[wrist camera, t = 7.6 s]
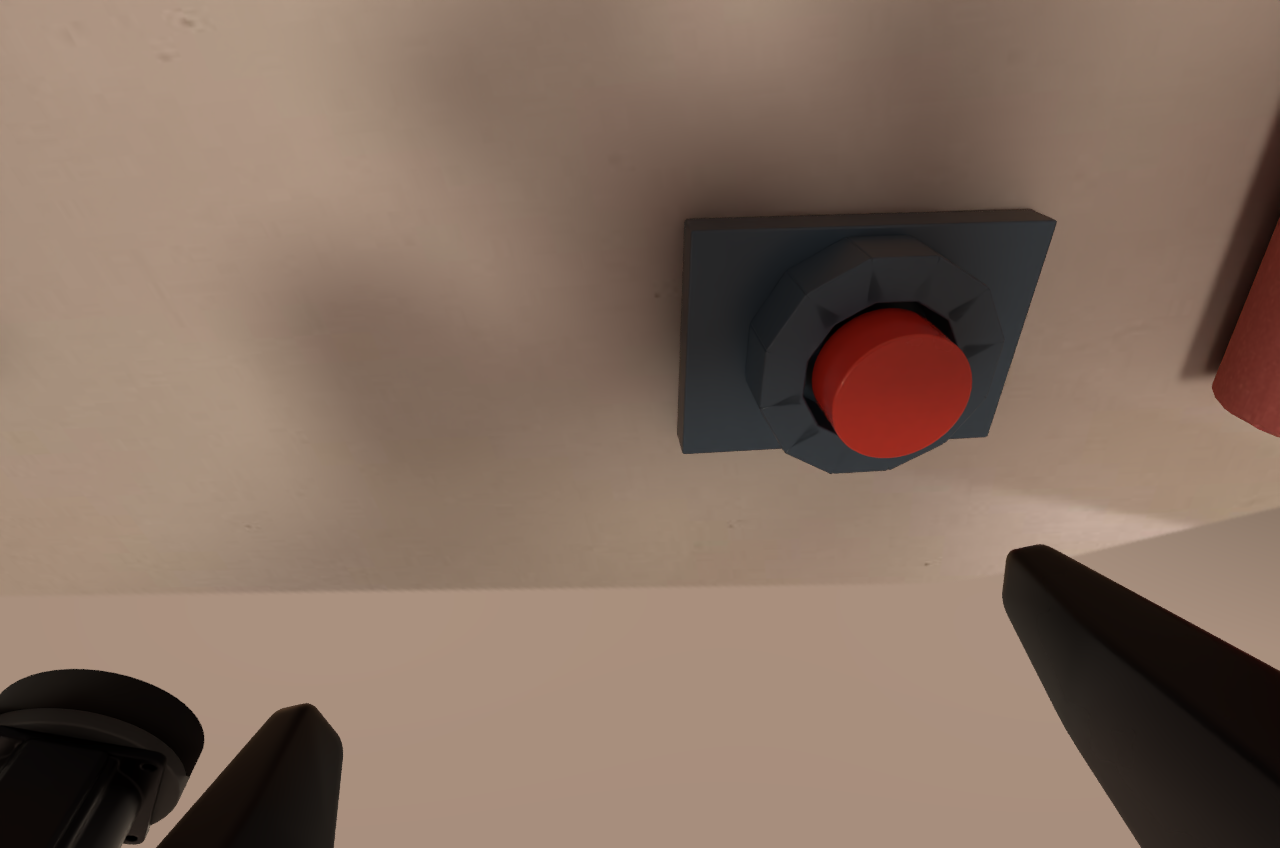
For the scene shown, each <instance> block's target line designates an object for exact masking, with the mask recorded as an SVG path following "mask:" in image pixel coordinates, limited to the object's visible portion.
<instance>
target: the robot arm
mask: <svg viewBox="0 0 1280 848" xmlns="http://www.w3.org/2000/svg"><path fill="white" fill-rule="evenodd" d="M1002 598H1003V604H1004V608H1005V610H1006V613H1007V615H1008V617H1009V619H1010V621H1011V623H1012V625H1013V627H1014V629H1015V631H1016V633H1017V635H1018V637H1019V639H1020V641H1021V643H1022V645H1023V647H1024V649H1025V651H1026V653H1027V654H1028V657H1029V659H1030V660H1031V663H1032V665H1033V667H1034V669H1035V670H1036V672H1037V674H1038V676H1039V678H1040V680H1041V682H1042V684H1043V686H1044V688H1045V690H1046V692H1047V694H1048V696H1049V698H1050V700H1051V702H1052V704H1053V706H1054V708H1055V710H1056V712H1057V714H1058V716H1059V717H1060V719H1061V721H1062V723H1063V725H1064V727H1065V729H1066V730H1067V732H1068V734H1069V735H1070V737H1071V739H1072V740H1073V742H1074V744H1075V745H1076V747H1077V748H1078V750H1079V752H1080V753H1081V755H1082V756H1083V758H1084V759H1085V761H1086V762H1087V764H1088V766H1089V767H1090V769H1091V770H1092V772H1093V773H1094V775H1095V776H1096V778H1097V780H1098V781H1099V783H1100V784H1101V786H1102V787H1103V789H1104V790H1105V792H1106V794H1107V795H1108V797H1109V798H1110V800H1111V801H1112V803H1113V804H1114V806H1115V808H1116V809H1117V811H1118V812H1119V814H1120V815H1121V817H1122V818H1123V820H1124V822H1125V823H1126V825H1127V826H1128V828H1129V829H1130V831H1131V832H1132V834H1133V835H1134V837H1135V839H1136V840H1137V842H1138V843H1139V845H1140V846H1141V848H1280V671H1279V670H1277V669H1275V668H1273V667H1271V666H1270V665H1268V664H1266V663H1264V662H1262V661H1260V660H1259V659H1257V658H1255V657H1253V656H1251V655H1249V654H1247V653H1246V652H1244V651H1242V650H1240V649H1238V648H1236V647H1234V646H1233V645H1231V644H1229V643H1227V642H1225V641H1223V640H1221V639H1220V638H1218V637H1216V636H1214V635H1212V634H1210V633H1209V632H1207V631H1205V630H1203V629H1201V628H1199V627H1198V626H1195V625H1194V624H1192V623H1190V622H1188V621H1186V620H1185V619H1183V618H1181V617H1179V616H1177V615H1175V614H1173V613H1172V612H1170V611H1168V610H1166V609H1164V608H1162V607H1161V606H1159V605H1157V604H1155V603H1153V602H1151V601H1149V600H1148V599H1146V598H1144V597H1142V596H1140V595H1138V594H1136V593H1135V592H1133V591H1131V590H1129V589H1127V588H1125V587H1123V586H1122V585H1120V584H1118V583H1116V582H1114V581H1112V580H1111V579H1109V578H1107V577H1105V576H1103V575H1101V574H1099V573H1098V572H1096V571H1094V570H1092V569H1090V568H1088V567H1087V566H1085V565H1083V564H1081V563H1079V562H1077V561H1075V560H1074V559H1072V558H1070V557H1068V556H1066V555H1064V554H1063V553H1061V552H1059V551H1057V550H1055V549H1053V548H1051V547H1049V546H1046V545H1041V544H1039V545H1032V546H1028V547H1023V548H1019V549H1014V550H1012V551H1010V552H1009V554H1008V555H1007V558H1006V565H1005V574H1004V583H1003V592H1002ZM342 761H343V747H342V742H341V740H340V737H339V736H338V734H337V733H336V732H335V731H334V729H333V728H332V727H331V725H330V724H329V723H328V722H327V720H326V719H325V718H324V717H323V716H322V714H321V713H320V712H319V711H318V709H317V708H316V707H315V706H313V705H311V704H309V703H306V704H300V705H295V706H291V707H287V708H283V709H280V710H278V711H276V712H275V713H274V714H273V715H272V716H271V717H270V718H269V719H268V720H267V721H266V723H265V724H264V725H263V726H262V727H261V728H260V729H259V730H258V732H257V733H256V734H255V735H254V736H253V737H252V738H251V740H250V741H249V742H248V743H247V744H246V745H245V747H244V748H243V749H242V750H241V751H240V752H239V754H238V755H237V756H236V757H235V758H234V759H233V760H232V761H231V763H230V764H229V765H228V766H227V767H226V768H225V769H224V771H223V772H222V773H221V774H220V775H219V776H218V778H217V779H216V780H215V781H214V782H213V783H212V784H211V786H210V787H209V788H208V789H207V790H206V792H204V793H203V795H202V796H201V797H200V798H199V799H198V800H197V802H196V803H195V804H194V805H193V806H192V807H191V808H190V810H189V811H188V812H187V813H186V814H185V815H184V816H183V818H182V819H181V820H180V821H179V822H178V823H177V825H176V826H175V827H174V828H173V829H172V830H171V831H170V832H169V834H168V835H167V836H166V837H165V838H164V839H163V840H162V842H161V843H160V844H159V845H158V846H157V847H156V848H334V839H335V829H336V820H337V810H338V800H339V790H340V781H341V770H342ZM166 763H167V757H166V756H165V755H164V754H162V753H160V752H157V751H151V750H145V749H139V748H133V747H127V746H121V745H115V744H110V743H104V742H98V741H92V740H86V739H80V738H74V737H68V736H62V735H56V734H50V733H44V732H38V731H32V730H26V729H20V728H14V727H8V726H2V725H0V848H121V846H122V844H123V843H124V844H140V843H142V842H143V841H144V839H145V837H146V835H147V833H148V831H149V828H150V824H151V821H152V817H153V813H154V809H155V805H156V802H157V798H158V794H159V790H160V786H161V783H162V779H163V775H164V771H165V767H166Z"/></svg>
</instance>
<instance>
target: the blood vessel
mask: <svg viewBox="0 0 1280 848" xmlns="http://www.w3.org/2000/svg"><path fill="white" fill-rule="evenodd" d="M1212 390H1213V392H1214V395H1215V398H1216V399H1217V400H1218V401H1219V402H1220V404H1221V405H1222V406H1223V407H1224V408H1225V409H1226V410H1227V411H1229V412H1230V413H1231V414H1233V415H1235V416H1236V417H1238V418H1240V419H1242V420H1244V421H1246V422H1248V423H1249V424H1251V425H1253V426H1254V427H1256V428H1257V429H1259V430H1262V431H1264V432H1267V433H1269V434H1272V435H1274V436H1276V437H1280V218H1279V220H1278V223H1277V225H1276V227H1275V230H1274V232H1273V235H1272V237H1271V240H1270V242H1269V245H1268V247H1267V250H1266V252H1265V255H1264V257H1263V260H1262V262H1261V265H1260V267H1259V270H1258V272H1257V275H1256V277H1255V280H1254V282H1253V285H1252V287H1251V290H1250V292H1249V294H1248V297H1247V299H1246V302H1245V304H1244V307H1243V309H1242V312H1241V314H1240V317H1239V319H1238V322H1237V324H1236V327H1235V329H1234V332H1233V334H1232V337H1231V339H1230V342H1229V344H1228V347H1227V349H1226V352H1225V354H1224V356H1223V359H1222V361H1221V364H1220V366H1219V369H1218V371H1217V374H1216V376H1215V379H1214V381H1213V385H1212Z"/></svg>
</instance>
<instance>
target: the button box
mask: <svg viewBox="0 0 1280 848" xmlns="http://www.w3.org/2000/svg"><path fill="white" fill-rule="evenodd" d="M1056 223H1057V221H1056V220H1054V219H1052V218H1050V217H1047V216H1045V215H1043V214H1041V213H1038V212H1036V211H1034V210H1032V209H1030V210H994V211H958V212H921V213H885V214H849V215H812V216H776V217H740V218H703V219H686V220H685V222H684V251H683V280H682V309H681V338H680V367H679V396H678V426H677V435H678V438H679V442H680V446H681V450H682V453H683V454H693V453H711V452H729V451H747V450H764V449H782V450H784V452H785V453H786V454H789V455H791V456H793V457H795V458H797V459H799V460H802V461H804V462H806V463H808V464H810V465H812V466H815V467H817V468H819V469H821V470H823V471H825V472H828V473H830V474H832V473H834V474H836V473H853V472H869V471H886V470H888V469H889V470H891V469H893V468H895V467H897V466H899V465H901V464H903V463H905V462H907V461H909V460H911V459H913V458H916V457H918V456H920V455H922V454H924V453H926V452H928V451H930V450H932V449H934V448H936V447H938V446H940V445H942V444H943V443H945V442H947V440H948V439H959V438H977V437H987V436H988V433H989V430H990V426H991V423H992V420H993V417H994V414H995V411H996V408H997V405H998V402H999V399H1000V396H1001V393H1002V390H1003V386H1004V383H1005V380H1006V377H1007V374H1008V371H1009V368H1010V365H1011V362H1012V359H1013V356H1014V353H1015V350H1016V346H1017V343H1018V340H1019V337H1020V334H1021V331H1022V328H1023V325H1024V322H1025V319H1026V316H1027V313H1028V309H1029V306H1030V303H1031V300H1032V297H1033V294H1034V291H1035V288H1036V285H1037V282H1038V279H1039V276H1040V273H1041V269H1042V266H1043V263H1044V260H1045V257H1046V254H1047V251H1048V248H1049V245H1050V242H1051V239H1052V236H1053V232H1054V229H1055V226H1056ZM884 308H900V309H907V310H910V311H913V312H916V313H918V314H920V315H922V316H923V317H924V318H926V319H927V320H928V321H929V322H931V323H932V324H933V325H934V326H935V327H936V328H937V329H939V330H940V331H941V332H942V333H943V334H944V335H945V336H947V337H948V338H949V339H950V340H951V341H952V342H953V343H954V344H956V345H957V346H958V347H959V348H960V349H961V350H962V351H963V353H964V354H965V356H966V357H967V359H968V362H969V364H970V368H971V372H972V390H971V394H970V398H969V401H968V403H967V406H966V408H965V410H964V411H963V413H962V415H961V416H960V418H959V419H958V421H957V422H956V423H955V424H954V425H953V427H952V428H951V429H950V430H949V431H948V432H947V433H946V434H944V435H943V436H942V437H941V438H940V439H938V440H937V441H935V442H934V443H932V444H931V445H929V446H927V447H925V448H924V449H921V450H919V451H917V452H914V453H911V454H908V455H905V456H900V457H894V458H875V457H869V456H865V455H863V454H860V453H858V452H855V451H854V450H852V449H850V448H849V447H848V446H847V445H845V444H844V443H843V442H842V440H841V439H840V438H839V437H838V435H837V433H836V432H835V430H834V429H833V427H832V425H831V424H830V422H829V421H828V419H827V418H826V416H825V414H824V413H823V411H822V410H821V408H820V406H819V405H818V403H817V402H816V399H815V397H814V394H813V389H812V372H813V368H814V364H815V361H816V358H817V356H818V354H819V352H820V350H821V348H822V347H823V345H824V344H825V342H826V341H827V340H828V339H829V337H830V336H831V335H832V334H833V333H834V332H835V331H836V330H837V329H838V328H840V327H841V326H842V325H844V324H845V323H846V322H848V321H850V320H851V319H853V318H855V317H857V316H859V315H861V314H863V313H866V312H869V311H873V310H877V309H884Z"/></svg>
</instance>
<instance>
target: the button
mask: <svg viewBox="0 0 1280 848" xmlns="http://www.w3.org/2000/svg"><path fill="white" fill-rule="evenodd" d="M812 389H813V394H814V397H815V399H816V402H817V403H818V405H819V406H820V408H821V410H822V411H823V413H824V414H825V416H826V418H827V419H828V421H829V422H830V424H831V425H832V427H833V429H834V430H835V432H836V433H837V435H838V437H839V438H840V439H841V440H842V442H843V443H844V444H845V445H847V446H848V447H849V448H850V449H852V450H854V451H855V452H858V453H860V454H863V455H865V456H869V457H875V458H894V457H900V456H905V455H908V454H911V453H914V452H917V451H919V450H921V449H924V448H925V447H927V446H929V445H931V444H932V443H934V442H935V441H937V440H938V439H940V438H941V437H942V436H943V435H944V434H946V433H947V432H948V431H949V430H950V429H951V428H952V427H953V425H954V424H955V423H956V422H957V421H958V419H959V418H960V416H961V415H962V413H963V411H964V410H965V408H966V406H967V403H968V401H969V398H970V394H971V390H972V372H971V368H970V364H969V362H968V359H967V357H966V356H965V354H964V353H963V351H962V350H961V349H960V348H959V347H958V346H957V345H956V344H954V343H953V342H952V341H951V340H950V339H949V338H948V337H947V336H945V335H944V334H943V333H942V332H941V331H940V330H939V329H937V328H936V327H935V326H934V325H933V324H932V323H931V322H929V321H928V320H927V319H926V318H924V317H923V316H922V315H920V314H918V313H916V312H913V311H910V310H907V309H900V308H884V309H877V310H873V311H869V312H866V313H863V314H861V315H859V316H857V317H855V318H853V319H851V320H850V321H848V322H846V323H845V324H844V325H842V326H841V327H840V328H838V329H837V330H836V331H835V332H834V333H833V334H832V335H831V336H830V337H829V339H828V340H827V341H826V342H825V344H824V345H823V347H822V348H821V350H820V352H819V354H818V356H817V358H816V361H815V364H814V368H813V372H812Z"/></svg>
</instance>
